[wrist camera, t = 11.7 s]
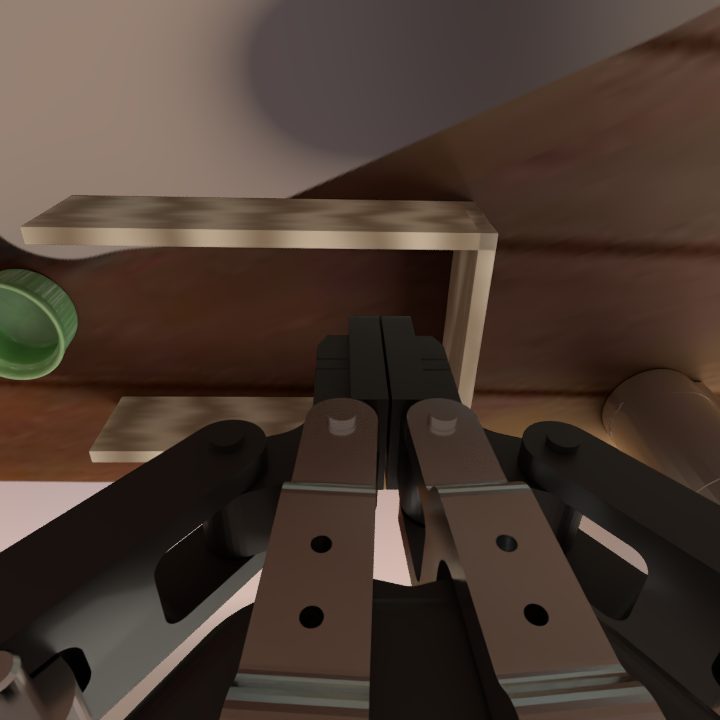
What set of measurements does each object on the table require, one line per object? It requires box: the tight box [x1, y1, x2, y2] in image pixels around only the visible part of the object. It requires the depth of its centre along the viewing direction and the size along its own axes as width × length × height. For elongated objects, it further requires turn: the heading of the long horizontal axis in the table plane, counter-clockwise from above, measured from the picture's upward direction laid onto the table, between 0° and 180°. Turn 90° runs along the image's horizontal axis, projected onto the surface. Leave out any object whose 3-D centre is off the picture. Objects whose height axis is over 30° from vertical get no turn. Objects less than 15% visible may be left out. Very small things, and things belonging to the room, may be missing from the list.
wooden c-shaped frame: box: [20, 195, 498, 462], centre depth 45 cm, size 32×20×8 cm, turn 89°
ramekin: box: [0, 269, 78, 380], centre depth 46 cm, size 9×9×4 cm
